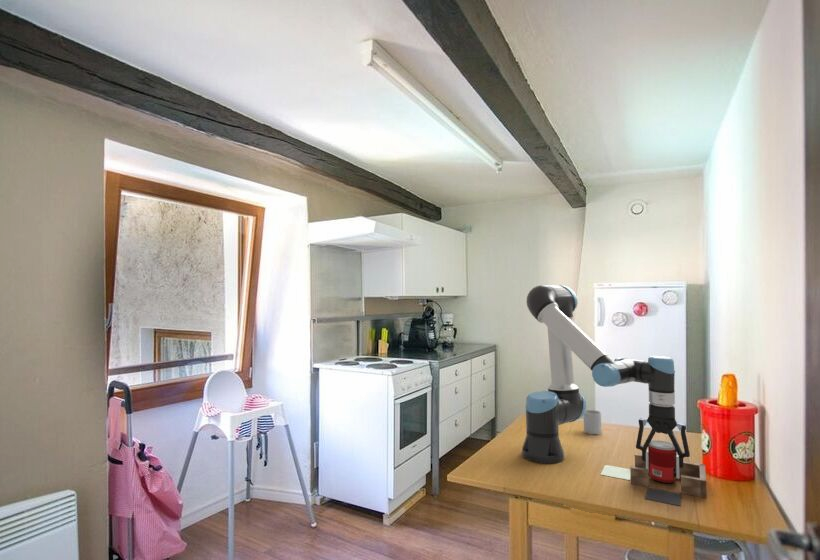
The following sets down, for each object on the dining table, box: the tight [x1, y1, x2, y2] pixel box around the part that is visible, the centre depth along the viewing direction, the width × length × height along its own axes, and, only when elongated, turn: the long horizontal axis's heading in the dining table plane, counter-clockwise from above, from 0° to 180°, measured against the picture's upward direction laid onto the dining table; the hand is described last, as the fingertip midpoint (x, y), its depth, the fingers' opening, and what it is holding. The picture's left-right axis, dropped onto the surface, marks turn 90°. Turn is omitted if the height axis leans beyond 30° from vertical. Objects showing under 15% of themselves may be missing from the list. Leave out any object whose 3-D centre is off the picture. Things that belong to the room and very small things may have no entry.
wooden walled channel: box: [629, 453, 707, 499], centre depth 147 cm, size 20×15×5 cm
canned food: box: [647, 439, 677, 484], centre depth 148 cm, size 8×8×11 cm
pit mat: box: [644, 486, 682, 507], centre depth 137 cm, size 9×9×1 cm
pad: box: [600, 464, 631, 481], centre depth 155 cm, size 9×10×1 cm
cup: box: [583, 409, 602, 435], centre depth 201 cm, size 7×10×9 cm
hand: (662, 474), depth 148 cm, fingers closed on canned food, 8 cm apart
